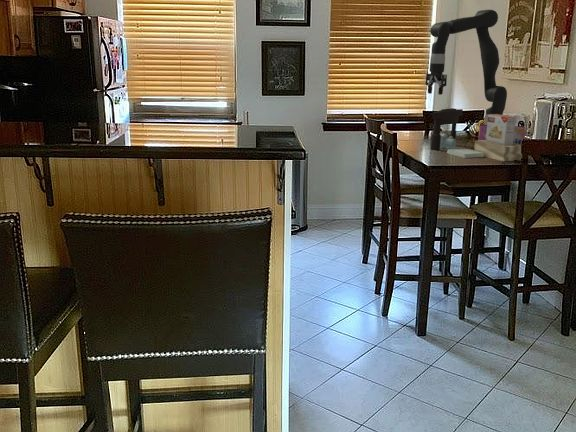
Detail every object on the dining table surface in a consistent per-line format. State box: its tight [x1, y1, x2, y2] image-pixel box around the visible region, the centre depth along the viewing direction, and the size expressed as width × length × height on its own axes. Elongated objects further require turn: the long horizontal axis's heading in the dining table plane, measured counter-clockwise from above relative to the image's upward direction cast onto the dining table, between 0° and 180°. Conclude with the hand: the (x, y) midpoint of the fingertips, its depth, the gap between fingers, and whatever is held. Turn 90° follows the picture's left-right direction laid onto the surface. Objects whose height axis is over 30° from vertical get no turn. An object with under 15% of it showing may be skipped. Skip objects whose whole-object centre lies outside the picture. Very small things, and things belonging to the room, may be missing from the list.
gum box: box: [477, 124, 527, 144], centre depth 306 cm, size 24×8×14 cm, turn 72°
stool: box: [430, 108, 464, 151], centre depth 313 cm, size 16×21×33 cm
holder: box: [474, 139, 522, 162], centre depth 289 cm, size 14×22×7 cm, turn 21°
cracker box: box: [485, 114, 517, 146], centre depth 287 cm, size 14×6×21 cm, turn 21°
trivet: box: [447, 148, 484, 159], centre depth 293 cm, size 12×14×2 cm
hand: (434, 94), depth 305 cm, fingers open, 8 cm apart
